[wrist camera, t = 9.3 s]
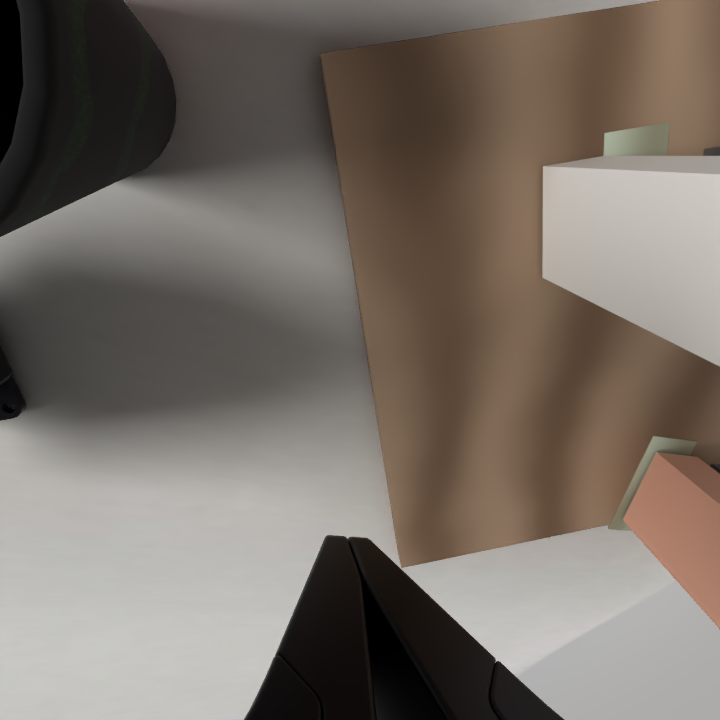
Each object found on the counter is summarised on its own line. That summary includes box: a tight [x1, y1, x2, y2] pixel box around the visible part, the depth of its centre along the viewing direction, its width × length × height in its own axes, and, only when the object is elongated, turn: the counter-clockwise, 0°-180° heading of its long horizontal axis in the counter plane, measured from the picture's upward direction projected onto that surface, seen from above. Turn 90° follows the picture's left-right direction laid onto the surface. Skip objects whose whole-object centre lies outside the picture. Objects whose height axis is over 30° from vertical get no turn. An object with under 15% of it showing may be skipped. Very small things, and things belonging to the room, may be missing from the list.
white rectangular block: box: [542, 156, 720, 367], centre depth 15 cm, size 2×4×10 cm, turn 9°
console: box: [320, 0, 720, 568], centre depth 21 cm, size 19×25×4 cm
